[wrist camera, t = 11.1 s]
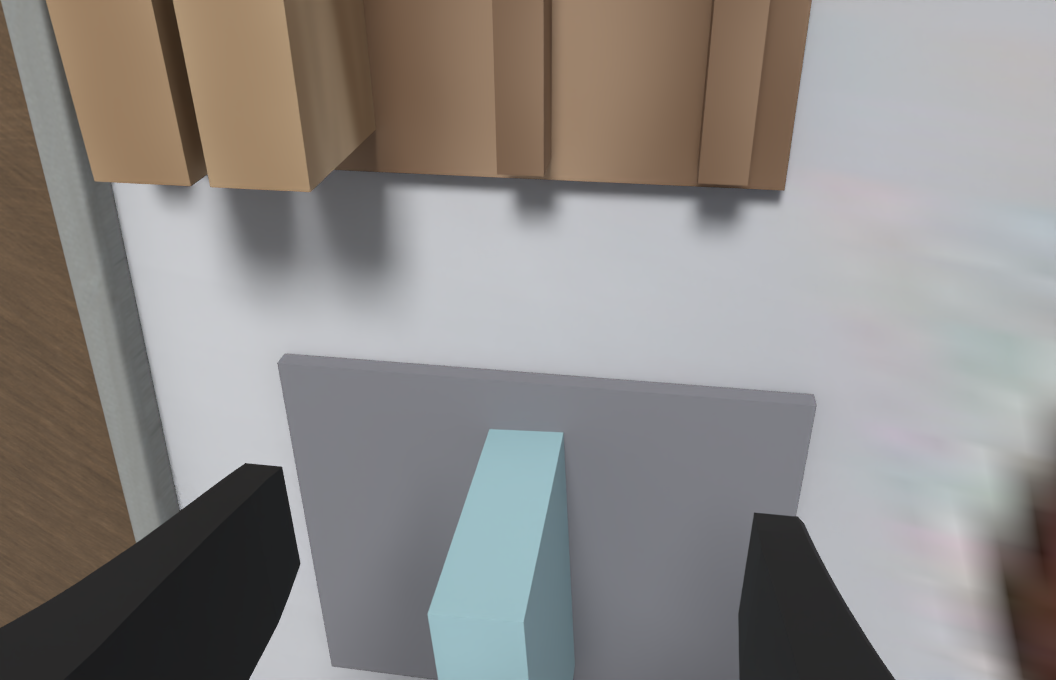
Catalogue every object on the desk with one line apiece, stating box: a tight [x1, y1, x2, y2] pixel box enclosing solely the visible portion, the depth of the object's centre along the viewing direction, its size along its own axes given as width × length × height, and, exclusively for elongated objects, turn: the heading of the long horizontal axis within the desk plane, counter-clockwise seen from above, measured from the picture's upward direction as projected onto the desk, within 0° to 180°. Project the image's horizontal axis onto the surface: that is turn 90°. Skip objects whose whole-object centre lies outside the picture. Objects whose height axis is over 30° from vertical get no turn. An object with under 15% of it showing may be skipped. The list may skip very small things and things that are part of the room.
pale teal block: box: [428, 429, 575, 680], centre depth 23 cm, size 2×9×6 cm, turn 4°
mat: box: [277, 354, 816, 680], centre depth 26 cm, size 14×12×1 cm
